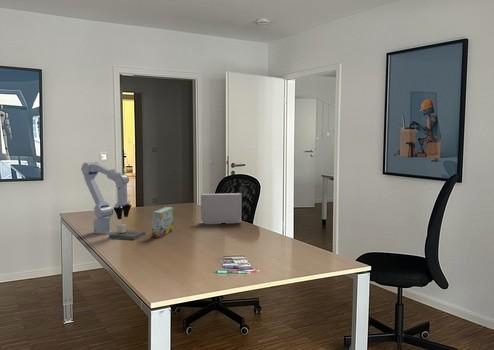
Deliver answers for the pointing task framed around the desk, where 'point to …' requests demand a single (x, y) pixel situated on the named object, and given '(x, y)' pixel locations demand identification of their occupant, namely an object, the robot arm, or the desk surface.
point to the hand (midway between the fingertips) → (122, 218)
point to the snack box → (162, 222)
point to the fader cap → (121, 228)
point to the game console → (221, 208)
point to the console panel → (128, 235)
